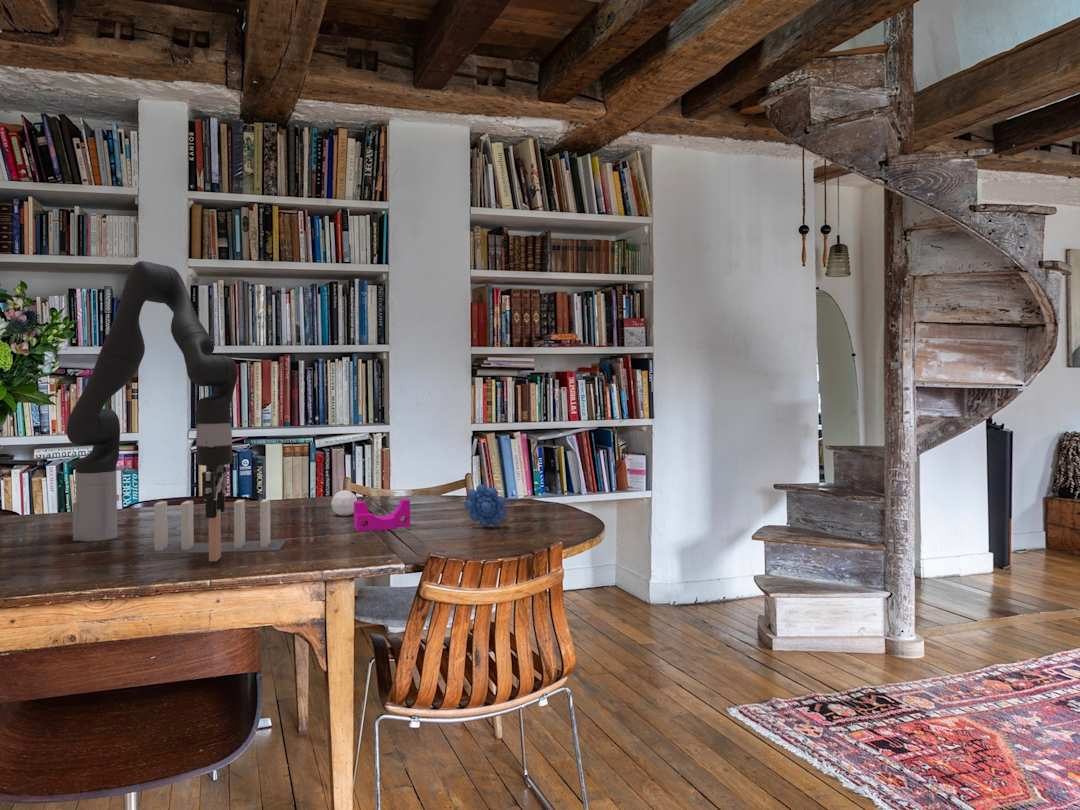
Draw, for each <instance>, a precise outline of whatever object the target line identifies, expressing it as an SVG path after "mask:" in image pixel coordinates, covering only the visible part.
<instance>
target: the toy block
mask: <svg viewBox="0 0 1080 810" xmlns="http://www.w3.org/2000/svg"><path fill="white" fill-rule="evenodd" d="M403 517H404V518H403ZM402 518H403V519H402ZM353 527H354V529H355V530H356V532H363V531H365V532H366V531H380V530H395V529H396V528H406V527H407V528H409V527H411V500H410V499H408V498H400V499H399V504H398V505H397V507H396V508H395V510H394V511H393V512H391V513H390V514H387V515H382V516H380V515H375V514H373V513H371V511H370V510H369V508H368V507H367V503H366V501H365V500H357V501H354V512H353Z"/></svg>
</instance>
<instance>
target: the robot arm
mask: <svg viewBox="0 0 1080 810" xmlns="http://www.w3.org/2000/svg"><path fill="white" fill-rule="evenodd" d="M125 280H126V281H125V282H124V286H123V289H122V292H121V293H122V294H121V297H120V300H119V303H118V307H117V310H116V312H115V316H114V317H113V321H112V323H111V326H110V329H109V331H108V333H107V335H106V338H105V340H104V341H103V345H102V346H101V349H100V351H99V354H98V356H97V358H96V362H95V364H94V367H93V369H92V371H91V374H90V376H89V379H88V380H87V383H86V385H85V387H84V389H83V391H82V393H81V394H80V396H79V398H78V400H77V402H76V403H75V405H74V407H73V408H72V410H71V412H70V415H69V416H68V419H67V423H66V436H67V438H68V440H69V442H70V443H71V444H73V445H75V446H92V450H91V452H89V453H88V454H87V455H85V456H84V457H82V458H80V459H78V460H77V461H76V462H75V466H74V467H75V468H74V471H75V502H73V503H72V541H73V542H75V541H78V542H99V541H100V542H101V541H107V540H112V539H116V538H117V537H118V497H117V496H118V495H117V493H118V491H117V490H118V489H117V488H118V486H117V484H118V483H117V479H118V478H117V464H118V462H119V459H120V442H121V424H120V419H119V416H118V414H117V413H116V411H115V410H113V409H111V408H104V407H105V406H106V403H107V402H108V401H109V400H110V399H111V398H112V397H113V396H114V395H115V394H116V393H117V392H119V391H120V390H121V389H122V388H124V386H126V385H127V384H128V383H129V382H130V381H131V380H132V379H133V378H134V377H135V375H136V373H138V372H137V371H138V369H139V368H140V365H141V363H142V360H143V358H144V356H145V351H146V350H145V349H146V347H145V346H146V345H145V341H144V337H143V333H142V330H141V326H140V325H141V324H140V315H141V311H142V308H143V307H144V306H143V305H144V304H145V302H151V303H156V304H165V305H166V306H167V307H168V308H169V309H170V310H171V312H172V313H173V316H172V319H171V323H170V332H171V335H172V338H173V341H174V342H175V343H176V345H177V346H178V348H179V350H180V351H181V353H182V355H183V360H184V363H185V368H186V372H187V373H186V374H187V376H188V377H187V378H188V379H189V380H190V382H191V383H193V384H194V385H196V386H199V387H214V390H213V392H212V394H211V395H209V396H206V397H205V396H204V397H201V398H199V399H198V401H197V403H196V418H197V419H196V420H197V425H196V435H195V440H196V442H195V443H196V448H195V449H196V464H197V465H198V466H201V467H202V466H205V467H206V468H205V469H206V471H202V473H201V479H202V481H201V482H202V483H201V486H202V487H201V489H202V491H201V492H202V493H201V498H202V500H204V502H205V518H206V519H209V518H215V517H217V510H220V509H221V513H224V512H225V511H226V505H225V504H226V500H225V499H226V494H227V492H228V489H229V488H228V468H227V465H231V464H232V463H233V434H232V433H233V430H232V424H231V404H232V399H233V395H234V392H235V389H236V384H237V381H238V380H237V379H238V376H239V375H238V373H239V369H238V365H237V363H236V362H235V360H234V359H233V357H231V356H228V355H215V354H214V355H213V353H214V351H215V344H214V343H215V342H214V341H213V340H212V338H211V336H210V334H209V333H208V331H207V330H206V329H205V327H204V326H203V324H202V321H201V320H200V319H199V318H198V316H197V315H198V314H196V311H195V308H194V305H193V303H192V300H191V297H190V295H189V292H188V290H187V287H186V284H185V283H184V280H183V278H182V276H181V275H180V273H179V272H178V270H177V269H175V268H174V267H171V266H169V265H164V264H159V263H155V262H149V261H145V260H142V261H141V260H140V261H137V262H136V263H134V264H133V265H132V267H131V269H130V270H129V272H128V274H127V277H126V279H125ZM225 465H226V466H225Z"/></svg>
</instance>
